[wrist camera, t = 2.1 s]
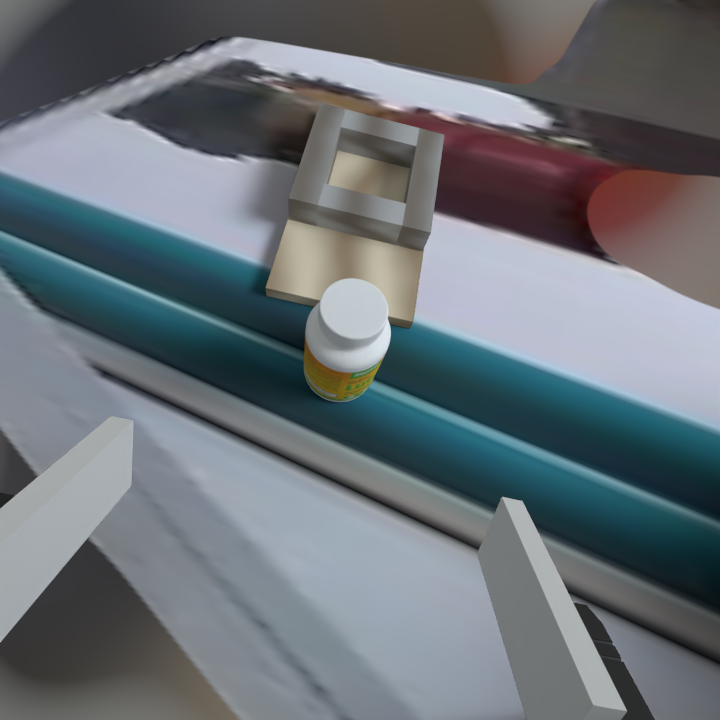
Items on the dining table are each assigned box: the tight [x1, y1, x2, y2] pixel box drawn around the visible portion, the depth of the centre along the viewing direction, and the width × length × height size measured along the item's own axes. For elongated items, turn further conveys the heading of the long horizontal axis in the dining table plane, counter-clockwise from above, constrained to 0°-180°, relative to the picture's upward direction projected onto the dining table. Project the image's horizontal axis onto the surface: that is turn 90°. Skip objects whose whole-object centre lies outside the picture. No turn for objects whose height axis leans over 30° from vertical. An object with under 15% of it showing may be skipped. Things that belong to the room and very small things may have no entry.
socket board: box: [266, 103, 444, 329], centre depth 37 cm, size 12×22×4 cm, turn 170°
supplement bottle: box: [304, 278, 391, 402], centre depth 28 cm, size 5×5×10 cm
